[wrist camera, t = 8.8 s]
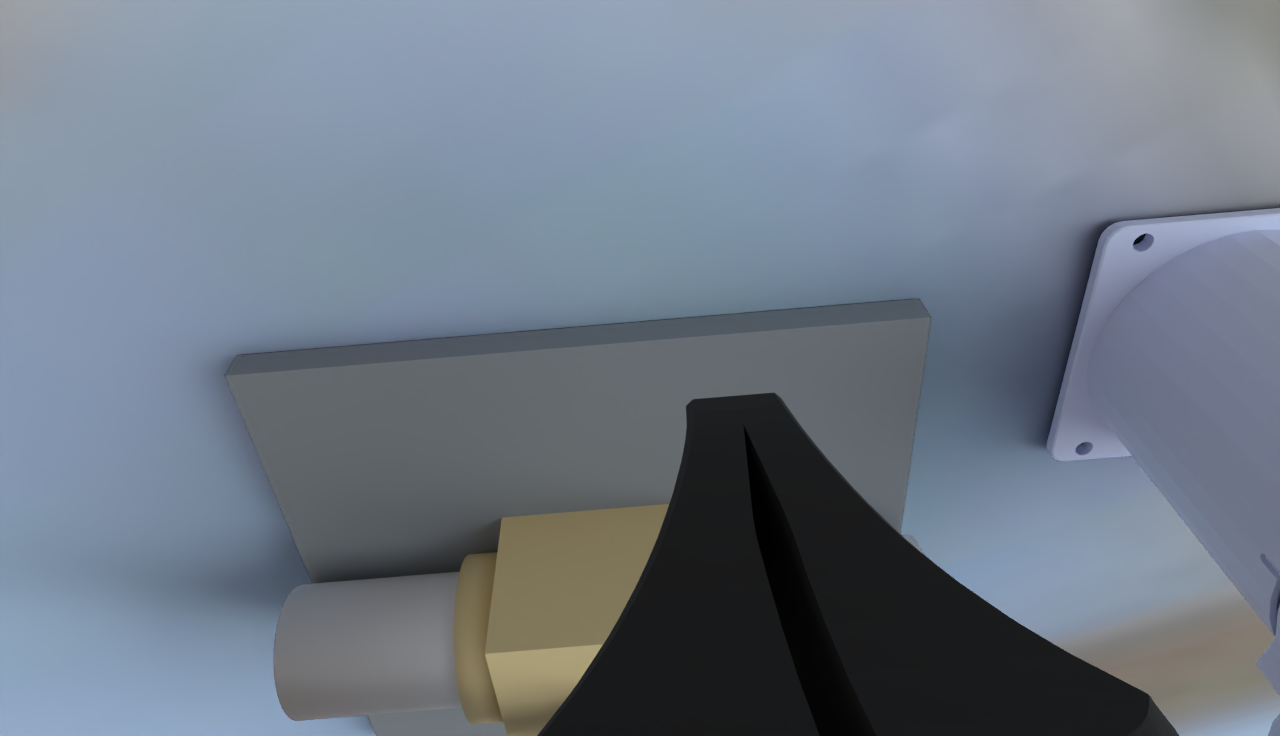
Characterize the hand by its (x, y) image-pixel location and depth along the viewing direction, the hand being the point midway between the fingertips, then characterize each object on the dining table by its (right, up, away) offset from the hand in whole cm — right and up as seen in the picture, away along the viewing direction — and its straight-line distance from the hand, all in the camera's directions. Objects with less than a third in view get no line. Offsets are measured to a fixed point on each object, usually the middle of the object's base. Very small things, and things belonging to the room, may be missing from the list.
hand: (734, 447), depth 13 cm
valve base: (-3, -5, +16) cm, 17 cm away
